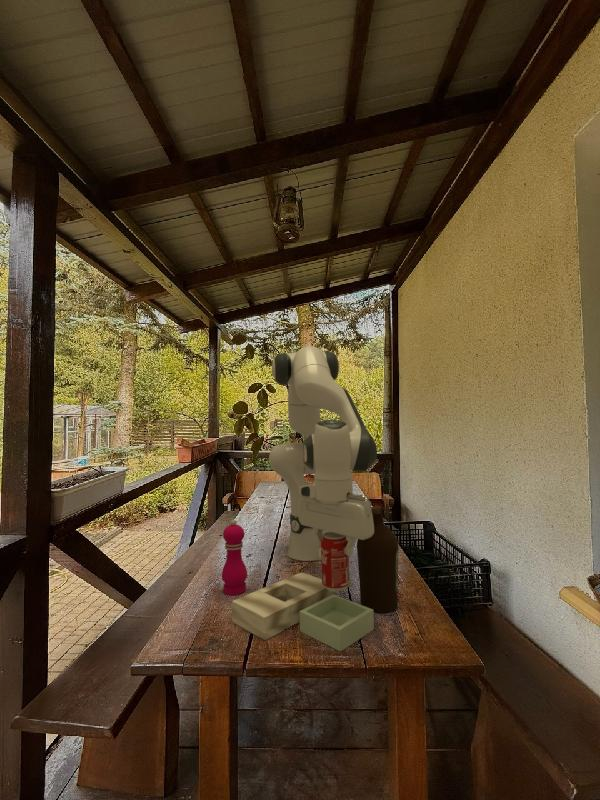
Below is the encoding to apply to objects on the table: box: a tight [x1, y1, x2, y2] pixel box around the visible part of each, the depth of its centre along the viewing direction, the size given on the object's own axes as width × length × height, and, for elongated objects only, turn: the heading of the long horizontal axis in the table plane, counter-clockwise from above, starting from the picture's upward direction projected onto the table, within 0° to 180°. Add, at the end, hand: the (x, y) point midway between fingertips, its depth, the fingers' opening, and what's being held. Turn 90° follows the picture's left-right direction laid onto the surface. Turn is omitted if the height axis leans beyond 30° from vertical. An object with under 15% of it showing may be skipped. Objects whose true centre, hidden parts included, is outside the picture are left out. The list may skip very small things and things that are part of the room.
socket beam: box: [231, 572, 336, 641], centre depth 106 cm, size 24×12×5 cm, turn 135°
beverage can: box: [320, 532, 350, 593], centre depth 97 cm, size 6×6×12 cm
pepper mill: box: [221, 519, 248, 596], centre depth 119 cm, size 7×7×20 cm
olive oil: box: [356, 505, 399, 614], centre depth 109 cm, size 11×11×25 cm
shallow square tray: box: [299, 594, 375, 652], centre depth 97 cm, size 12×12×4 cm
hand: (334, 550), depth 97 cm, fingers closed on beverage can, 6 cm apart
